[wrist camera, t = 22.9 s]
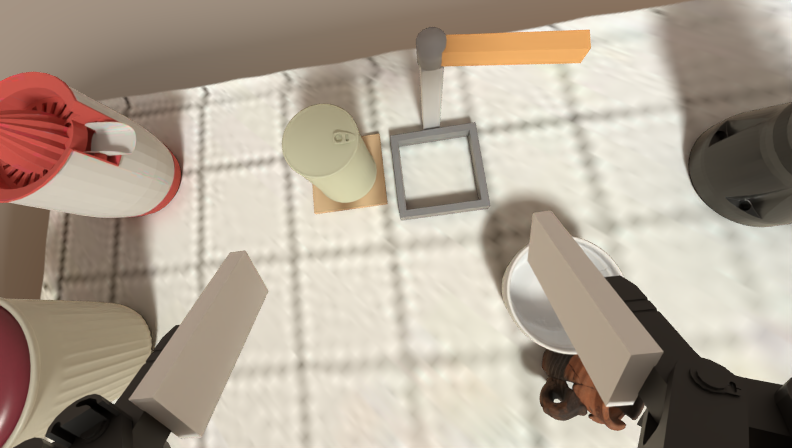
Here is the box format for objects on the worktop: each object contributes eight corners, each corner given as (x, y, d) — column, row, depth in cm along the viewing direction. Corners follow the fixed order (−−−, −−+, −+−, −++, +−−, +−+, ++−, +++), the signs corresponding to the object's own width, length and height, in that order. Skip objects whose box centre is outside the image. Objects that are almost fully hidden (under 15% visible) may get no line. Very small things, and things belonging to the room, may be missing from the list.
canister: (175, 280, 47) (-25, 282, 26) (174, 407, 44) (-55, 524, 23) (69, 295, 48) (-198, 309, 28) (61, 419, 45) (-250, 540, 24)
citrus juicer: (204, 219, 48) (49, 179, 29) (104, 233, 50) (-107, 204, 30) (204, 128, 51) (64, 36, 31) (110, 144, 53) (-79, 65, 33)
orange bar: (417, 46, 33) (416, 27, 30) (579, 40, 31) (592, 20, 29) (416, 71, 32) (415, 54, 30) (580, 67, 31) (593, 49, 28)
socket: (470, 111, 46) (487, 39, 32) (487, 208, 44) (514, 176, 30) (389, 124, 47) (373, 60, 34) (401, 220, 45) (388, 194, 31)
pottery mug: (576, 313, 40) (645, 342, 33) (594, 367, 43) (662, 406, 35) (509, 367, 37) (567, 413, 30) (532, 421, 40) (591, 477, 32)
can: (377, 201, 45) (358, 174, 33) (316, 204, 46) (277, 179, 34) (376, 142, 46) (357, 96, 35) (317, 147, 47) (280, 104, 35)
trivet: (379, 135, 47) (378, 133, 47) (387, 204, 45) (386, 202, 44) (311, 146, 48) (309, 144, 47) (316, 214, 46) (314, 212, 45)
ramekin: (482, 253, 43) (492, 249, 36) (576, 231, 42) (605, 222, 35) (510, 351, 40) (526, 366, 33) (611, 329, 39) (649, 340, 32)
